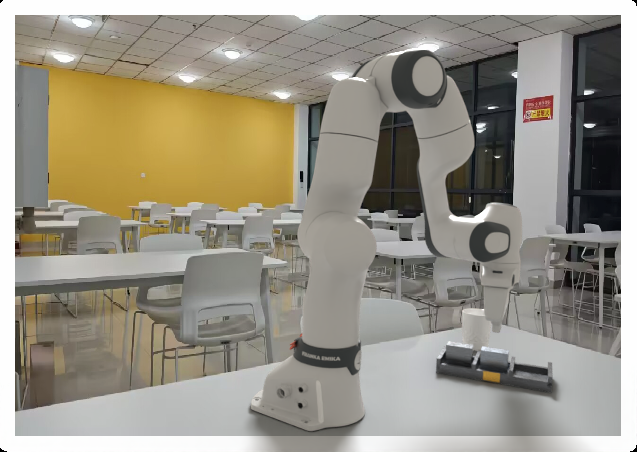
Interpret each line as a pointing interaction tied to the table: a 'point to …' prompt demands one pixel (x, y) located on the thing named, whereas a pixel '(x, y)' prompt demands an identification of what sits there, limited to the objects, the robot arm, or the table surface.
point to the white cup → (475, 328)
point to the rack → (464, 364)
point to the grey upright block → (494, 360)
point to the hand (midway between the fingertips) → (496, 331)
